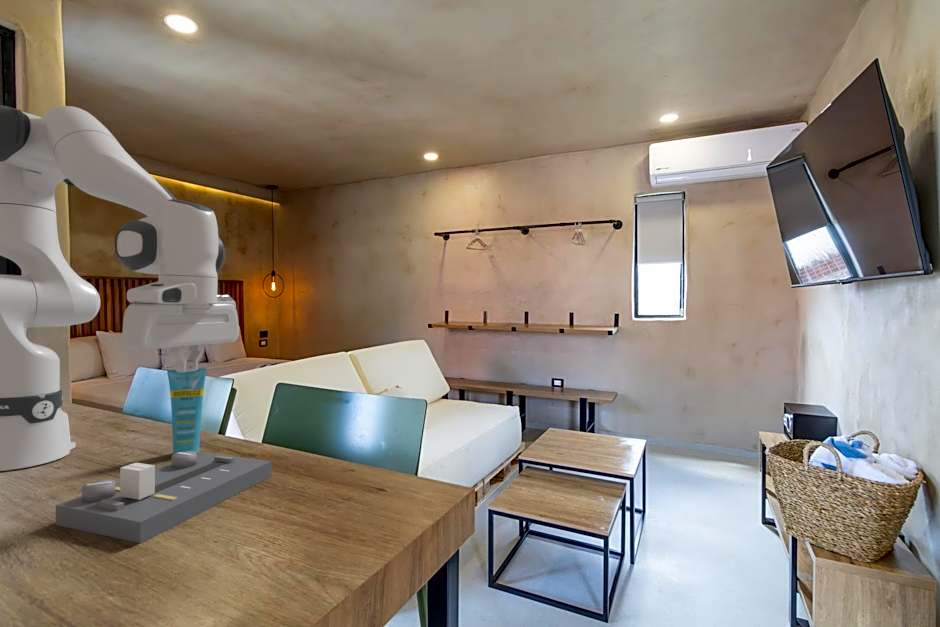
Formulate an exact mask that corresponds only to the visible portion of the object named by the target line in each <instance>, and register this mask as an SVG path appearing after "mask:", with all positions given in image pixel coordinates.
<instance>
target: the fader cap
mask: <svg viewBox="0 0 940 627" xmlns="http://www.w3.org/2000/svg"><path fill="white" fill-rule="evenodd" d="M155 469H156V465H155V464H148V463H142V462H134V463H130V464H128V465H125V466H121V467H119V473H120V474H119V482H120V496H121V497H127V498H132V499H138V500H140V499H142V498H145V497H147V496H150V495H152V494H154V493H155Z"/></svg>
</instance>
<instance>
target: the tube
mask: <svg viewBox="0 0 940 627" xmlns="http://www.w3.org/2000/svg"><path fill="white" fill-rule="evenodd" d="M207 368H208V367H198V370H196V371H189V372H183V373H180V372H177V371H176V368H174V369H166V370H167V371H166V372H167V378H168V383H169V386H168V387H169V394H170V408H171V410H170V411H171V425H172V426H171V427H172V428H171V429H172V432H171V433H172V455H173V454H176V453H179V452H185V451H194V452H196V454H199V453H200V452H199V451H200V442H201V441H200V440H201V425H202V413H203V402H204V392H205V391H204V390H205V384H206V376H207V370H208V369H207Z"/></svg>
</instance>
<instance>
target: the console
mask: <svg viewBox="0 0 940 627" xmlns="http://www.w3.org/2000/svg"><path fill="white" fill-rule="evenodd" d="M170 459H171V460H170V461H171V463H169V464H165V465H163V466H161V467H157V468H155V493H154V494H152V495H150V496H147V497H145V498H142V499H140V500H138V499H132V498H127V497H121V496H120V481H119V482H116V481H115V480H114V479H100V480H95V481H91V482H89V483H86V484H84V485H82V487H81V495H80V496H77V497H74V498H72V499H70V500H66V501H63V502H61V503H58V504H55V526H58V527H63V528H69V529H72V530H77V531H82V532H86V533H87V532H88V533H91V534H96V535H99V536H100V535H101V536H104V537H105V536H106V537H109V538H114V539H119V540H124V541H128V542H133V543H138V544H142V543H144V542H146V541H148V540H150V539H152V538H154V537H155V536H158V535H160V534H162V533H163V532H166V531H168V530H169V529H171V528H174V527H175V526H177V525H179V524H181V523H183V522H185V521H186V520H187V521H188V520H189V519H191V518H192V517H195V516H197V515H199V514H201V513H202V512H205V511H206V510H209V509H211V508H212V507H214V506H216V505H218V504H220V503H222V502H225V501H226V500H228V499H230V498H232V497H234V496H236V495H238V494H240V493H242V492H244V491H245V490H247V489H249V488H252V487H254V486H256V485H257V484H260V483H261V482H264V481H265V480H267V479H269V478H270V477H272V465H273V464H272V463H273V461H272V460H266V459H258V458H257V459H256V458H252V457H251V458H249V457H243V456H236V455H235V456H234V455H228V454H220V453H214V452H213V453H212V452H206V451H205V452H204V451H202V452H198V453H197V454H196V452H194V451H185V452H179V453H176V454H173V453H172V455H171V458H170Z"/></svg>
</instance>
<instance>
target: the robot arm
mask: <svg viewBox="0 0 940 627" xmlns="http://www.w3.org/2000/svg"><path fill="white" fill-rule="evenodd" d="M62 181H63V182H64V183H65V184H66V185H67V186H69V187H72V188H75V187H77V188H78V189H79V190H80V191H82V192H84V193H85V194H88V195H90V196H93V197H95V198H99V199H100V200H101V199H102V200H104V201H108V202H111V203H115V204H118V205H121V206H124V207H127V208H130V209H132V210H135V211H137V212H140V213H142V214H143V215H145V217H143V218H141V219H132V220H130V221H127V222H126V223H125V224H123V225H122V226H121V227H120V228H119V229H118V231H117V232H116V235H115V238H114V251H115V252H114V253H115V255H116V257H117V259H118V260H119V262H120V264H122V265H123V266H124V267H125V268H126V269H128V270H129V271H131V272H132V271H133V272H136V273H140V274H141V273H142V274H149V275H150V274H151V275H158V281H155V282H151V283H147V284H145V285H140V286H138V287H133V288H130V289H128V290H127V292H126V299H127V301H128V302H129V303H131V304H129V305H128V306H127V308H126V309H125V311H124V314H123V322H122V336H121V337H122V343H123V345H124V346H125V348H126V349H128V350H133V351H150V350H159V349H160V350H161V349H169V354H170V355H171V357H172V359H173V360H174V362H175V369H176V371H177V372H180V373H183V372H189V371H196V370H198V368H199V361H200V360H201V357H202V356H203V355H204V352H205V346H206V345H213V344H214V345H215V344H217V345H218V344H228V343H235V342H236V341H237V340H238V339H239V337H240V326H239V317H238V316H239V315H238V311H237V304H236V301H235V300H234V299H233V297H231V296H230V295H229V294H218V285H219V284H218V281H219V280H218V279H219V276H218V273H219V272H220V271H221V269H222V268H223V267H224V265H225V262H226V258H227V254H226V253H227V252H226V247H225V245H224V243H223V241H222V240H221V238H220V236H219V226H218V221H217V218H216V217H217V216H216V214H215V211H214V210H212V209H211V208H210V207H208V206H206V205H201V204H199V203H193V202H189V201H186V200H182V199H177V198H176V197H175V196H174V194H172V193H171V192H170V191H169V190H168V189H167V187H165V186H164V185H163V184H162V183H161V182H159V181H158V180H157V179H156V178H154V176H153V175H152V174H150V173H149V172H148V171H147V170H146V169H144V168H143V167H142V166H141V165H140V164H138V162H137V161H136V160H135V159H134V158H132V156H131V155H130V154H129V153H128V152H127V151H126V150H125V149H124V148H123V146H122V145H121V144H120V142H119V141H118V140H117V138H116V137H115V136H114V135H113V133H111V131H110V130H109V129H108V128H107V127H106V126H105V125H103V123H102V122H101V121H99V120H98V119H97V118H96V117H95V116H94V115H92V114H91V113H90V112H89V111H86V110H85V109H83V108H80V107H77V106H73V105H71V106H70V105H61V106H55V107H52V108H51V109H49V110H48V111H46V112H45V113H44V114H43V116H42V117H41V116H38V115H35V114H32V113H28V112H25V111H22V109H18V108H14V107H11V106H7V105H2V104H0V256H1V257H3V258H6V259H8V260H11V261H12V262H13V263H15V264H16V265H17V266H18V267H19V268H20V270H21V272H22V274H23V275H18V274H17V275H16V274H0V472H3V471H12V470H19V469H24V468H30V467H34V466H39V465H43V464H47V463H50V462H53V461H56V460H59V459H62V458H64V457H66V456H67V455H69V454H70V453H71V451H72V450H73V449H75V448H77V447H76V446H77V445H76V441H71V436H70V435H71V434H70V433H71V432H70V425H69V424H70V423H69V416H68V413H66V411H63V409H62V407H63V402H64V401H63V400H64V395H63V390H62V389H61V387H60V386H61V385H60V384H61V383H60V382H61V369H60V368H61V360H60V356H59V355H58V354H57V352H55V351H54V350H53V349H51V348H49V347H47V346H45V345H42V344H39V343H35V342H31V341H30V340H29V339H28V338H27V335H26V333H25V332H26V331H25V329H28V328H54V327H55V328H56V327H57V328H59V327H60V328H61V327H64V328H65V327H68V326H74V325H80V324H84V323H89V322H91V321H92V320H93V319H94V318H95V317H96V316H97V315H98V313H99V311H100V308H101V298H100V293H99V291H97V289H96V288H95V287H94V286H93V285H92V283H90V282H88V281H87V280H85V279H83V278H82V277H81V276H79V275H78V273H77V272H75V271H74V270H73V268H72V267H71V266H70V264H69V263H68V261H67V260H66V259H65V257H64V255H63V253H62V249H61V246H60V240H59V233H58V221H57V220H58V219H57V205H56V198H55V197H56V196H55V195H56V194H55V192H56V188H57V187H58V185H59V184H60V183H61V182H62ZM187 347H188V351H190V354H189V355H188V358H187V359H186V356H185V353H187Z"/></svg>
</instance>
